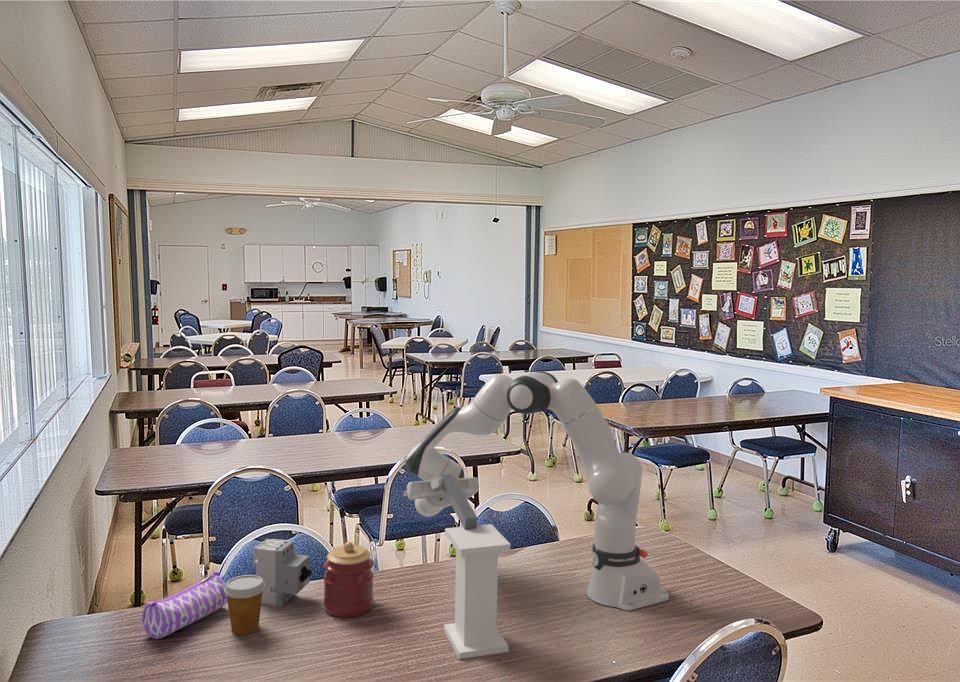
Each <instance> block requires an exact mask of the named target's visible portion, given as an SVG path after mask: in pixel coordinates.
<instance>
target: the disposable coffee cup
mask: <svg viewBox="0 0 960 682" xmlns="http://www.w3.org/2000/svg"><path fill="white" fill-rule="evenodd" d="M225 584H226V587H225V588H224V592H225V594H226V596H227V603H226V604H227V608H228V615H229V616H228V617H229V621H230V628H231V629H230V630H231V633H233V634H234V635H236V636H247V635H250V634H251V635H252V634H253V633H255V632H257V631H258V629H259V626H260V618H261V609H262V604H261V601H262V593H263V589H264V587H265V584H264V582H263V579H262V578H261V577H259V576H256V574H255V575H254V574H243V575H239V576H235V577H233V578H230V579H229V580H228V581H226V582H225Z"/></svg>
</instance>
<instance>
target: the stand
mask: <svg viewBox="0 0 960 682" xmlns="http://www.w3.org/2000/svg"><path fill="white" fill-rule="evenodd" d="M444 535H445V537H446V538H447V539H448V540H449V542H450V543H451V545H452V546H453V547H454V548H455V588H454V589H455V590H454V591H455V593H454V594H455V596H454V597H455V600H454V602H455V605H454V606H455V607H454V623H452V622H451V623H444V624H443V631H445V632H444V634H445V635H446V638H447V639H448V641H449V642H451V643H450V645H451V644H452V645H451V646H452V648H453V650H454V652H455V654H456V656H457V658H458V659H459V660H463V659H464V660H465V659H469V658H476V657H483V656H490V655H495V654H502V653H509V650H510V649H509V648H510V647H509V644H508V643H507V641H506V640H505V639H504V637H503V635H502V634H501V632H500V631H499V629H498V628H497V626H498V625H497V624H498V620H497V619H498V581H499V580H498V576H499V575H498V574H499V570H498V569H499V568H498V565H499V552H500V553H501V552H509V551H511V549H512V548H511V545H512V544H511V543H510V542H509V541H508V540H507V539H506V538H505V536H504V535H502V533H500V531H499V530H497V528H496V526H494V525H493V524H492V523H488V524H477V528H476V529H466V530H465V529H464V527H463V526H456V527H455V526H454V527H447V528H444Z"/></svg>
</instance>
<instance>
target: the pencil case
mask: <svg viewBox="0 0 960 682" xmlns="http://www.w3.org/2000/svg"><path fill="white" fill-rule="evenodd" d="M212 573H213V574H209V575H208V576H206V578H203V579H202V580H200V581H199V582H197V583H195V584H193V585H191V586H189V587H187V588H185V589H184V590H181V591H180V592H177V593H175V594H173V595H172V594H171V595H170V596H168V597H165V598H162V599H158V600H156V599H155V600H152V601H146V602H144V604H145V605H146V606H145V607H144V609H143V612H142V625H143V628H144V631H145V633H146V634H147V635H148V636H150V637H151V638H153V639H155V640H160V639H162V638H165V637H167V636H169V635H171V634H173V633H174V632H177V631H179V630H180V629H182V628H185V627H187V626H189V625H191V624H193V623H195V622H198V621H199V620H201V619H203V618H205V617H207V616H209V615H211V614H212V613H214V612H217V611H218V610H220V609H222V608H224V607H225V606H226V605H227V604H228V603H227V596H226V594H225V592H224V588H225V587H226V582H225V580H224V579H222V577H220V576H221V573H220V571H213V572H212Z"/></svg>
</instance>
